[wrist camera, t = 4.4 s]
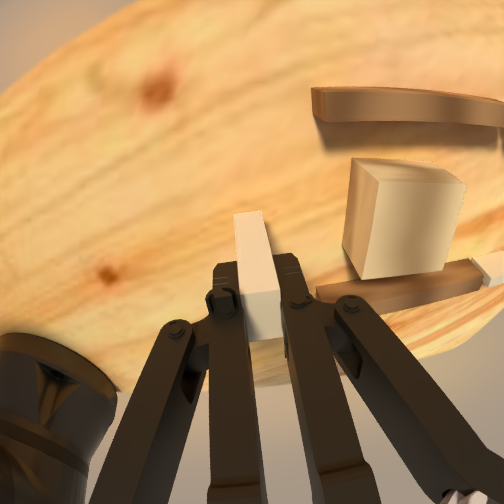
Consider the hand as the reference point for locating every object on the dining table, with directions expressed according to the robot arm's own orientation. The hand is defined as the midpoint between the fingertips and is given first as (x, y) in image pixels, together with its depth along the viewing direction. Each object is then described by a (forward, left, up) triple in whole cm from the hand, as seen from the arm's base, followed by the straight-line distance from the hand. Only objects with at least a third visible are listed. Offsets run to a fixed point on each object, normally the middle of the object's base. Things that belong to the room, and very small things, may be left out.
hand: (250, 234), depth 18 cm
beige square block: (+9, 0, -2) cm, 9 cm away
